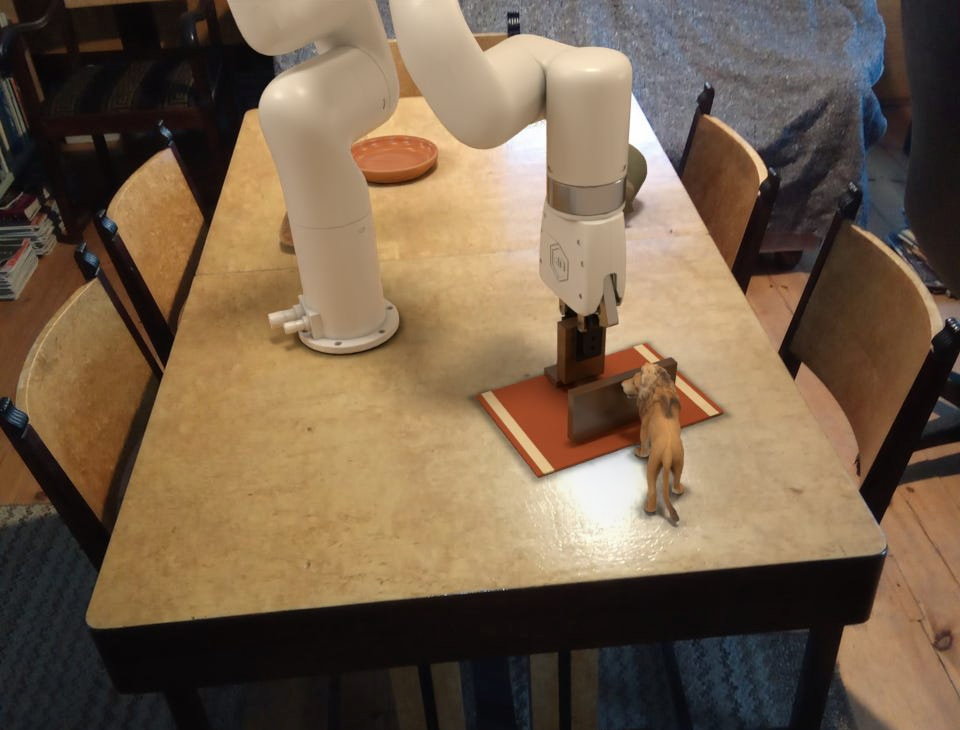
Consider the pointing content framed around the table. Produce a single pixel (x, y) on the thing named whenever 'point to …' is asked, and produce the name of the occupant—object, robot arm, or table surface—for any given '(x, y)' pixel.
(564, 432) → the towel
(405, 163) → the saucer
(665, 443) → the lion figurine
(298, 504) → the table surface
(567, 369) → the rod with end plates
